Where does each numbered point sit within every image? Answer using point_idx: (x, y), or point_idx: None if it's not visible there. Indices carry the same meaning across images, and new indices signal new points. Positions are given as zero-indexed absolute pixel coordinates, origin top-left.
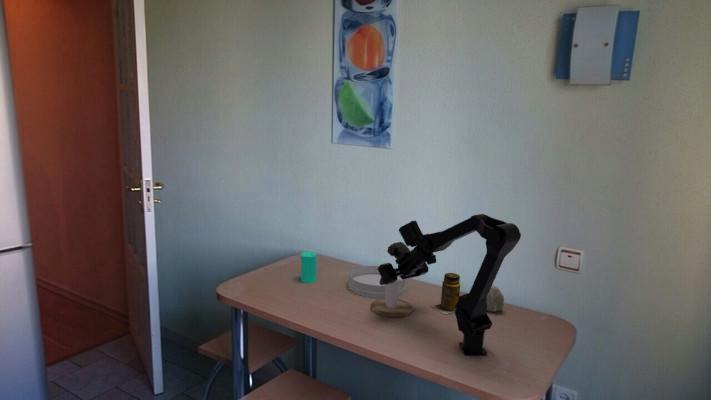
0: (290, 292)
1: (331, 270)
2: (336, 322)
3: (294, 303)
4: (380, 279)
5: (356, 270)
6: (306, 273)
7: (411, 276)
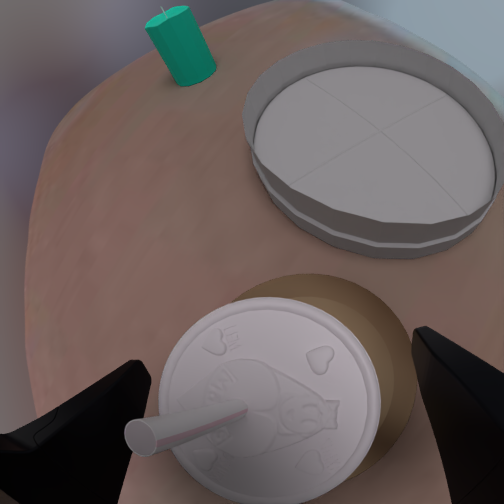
0: (112, 132)
1: (291, 37)
2: (64, 358)
3: (74, 193)
4: (92, 388)
5: (327, 51)
6: (168, 65)
7: (457, 502)
